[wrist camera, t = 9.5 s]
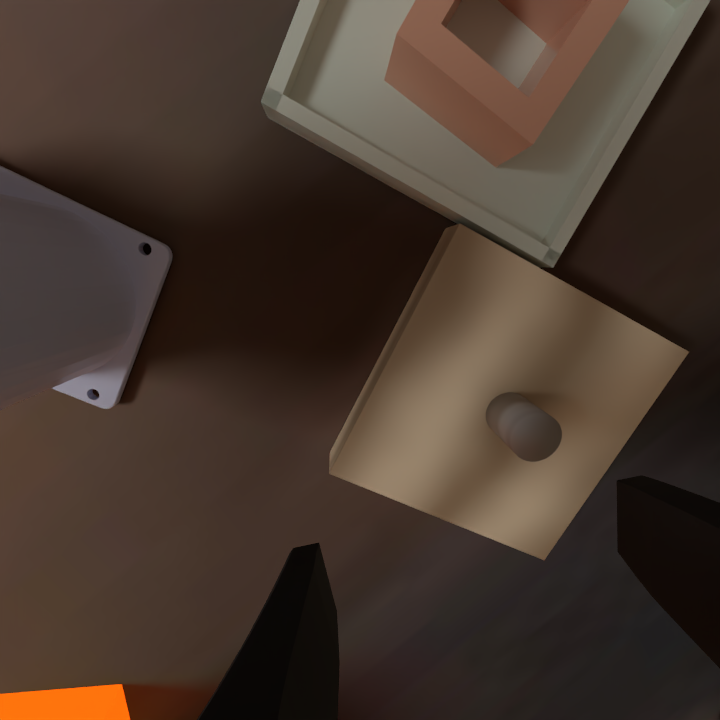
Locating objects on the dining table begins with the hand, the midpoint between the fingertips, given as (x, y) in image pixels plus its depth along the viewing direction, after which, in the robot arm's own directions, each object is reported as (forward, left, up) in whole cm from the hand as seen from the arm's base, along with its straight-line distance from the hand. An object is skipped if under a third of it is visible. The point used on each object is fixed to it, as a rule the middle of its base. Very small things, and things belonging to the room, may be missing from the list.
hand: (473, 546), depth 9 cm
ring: (-4, +14, -9) cm, 17 cm away
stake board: (+4, +2, -10) cm, 11 cm away
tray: (-4, +14, -10) cm, 18 cm away
